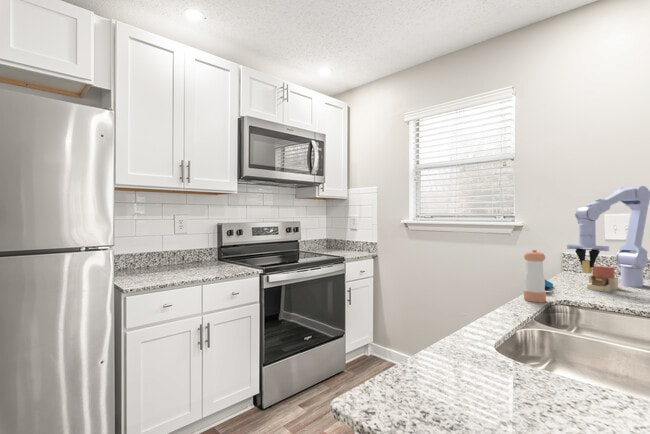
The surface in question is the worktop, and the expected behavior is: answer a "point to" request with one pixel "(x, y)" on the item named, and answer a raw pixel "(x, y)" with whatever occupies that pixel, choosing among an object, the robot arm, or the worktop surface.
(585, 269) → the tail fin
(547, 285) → the lever
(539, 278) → the salt shaker
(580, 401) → the worktop surface
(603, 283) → the brown curved piece
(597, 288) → the jig
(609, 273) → the pink flat block
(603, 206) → the robot arm
